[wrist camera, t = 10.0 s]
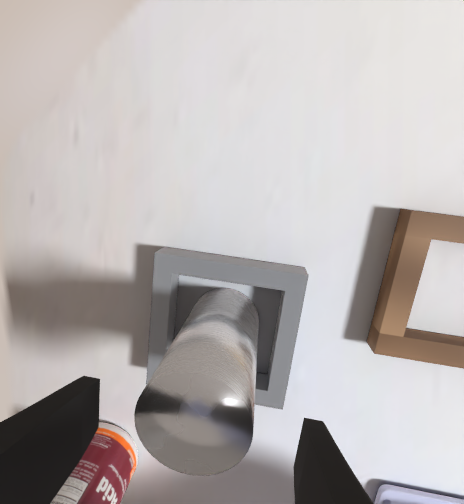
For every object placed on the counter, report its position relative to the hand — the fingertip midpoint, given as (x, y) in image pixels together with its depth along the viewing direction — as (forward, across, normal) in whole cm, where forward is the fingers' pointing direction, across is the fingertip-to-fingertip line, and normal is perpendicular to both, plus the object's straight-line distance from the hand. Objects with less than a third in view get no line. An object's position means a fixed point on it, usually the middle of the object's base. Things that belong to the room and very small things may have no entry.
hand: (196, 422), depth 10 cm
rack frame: (+8, 0, 0) cm, 8 cm away
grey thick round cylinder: (+8, 0, 0) cm, 8 cm away
